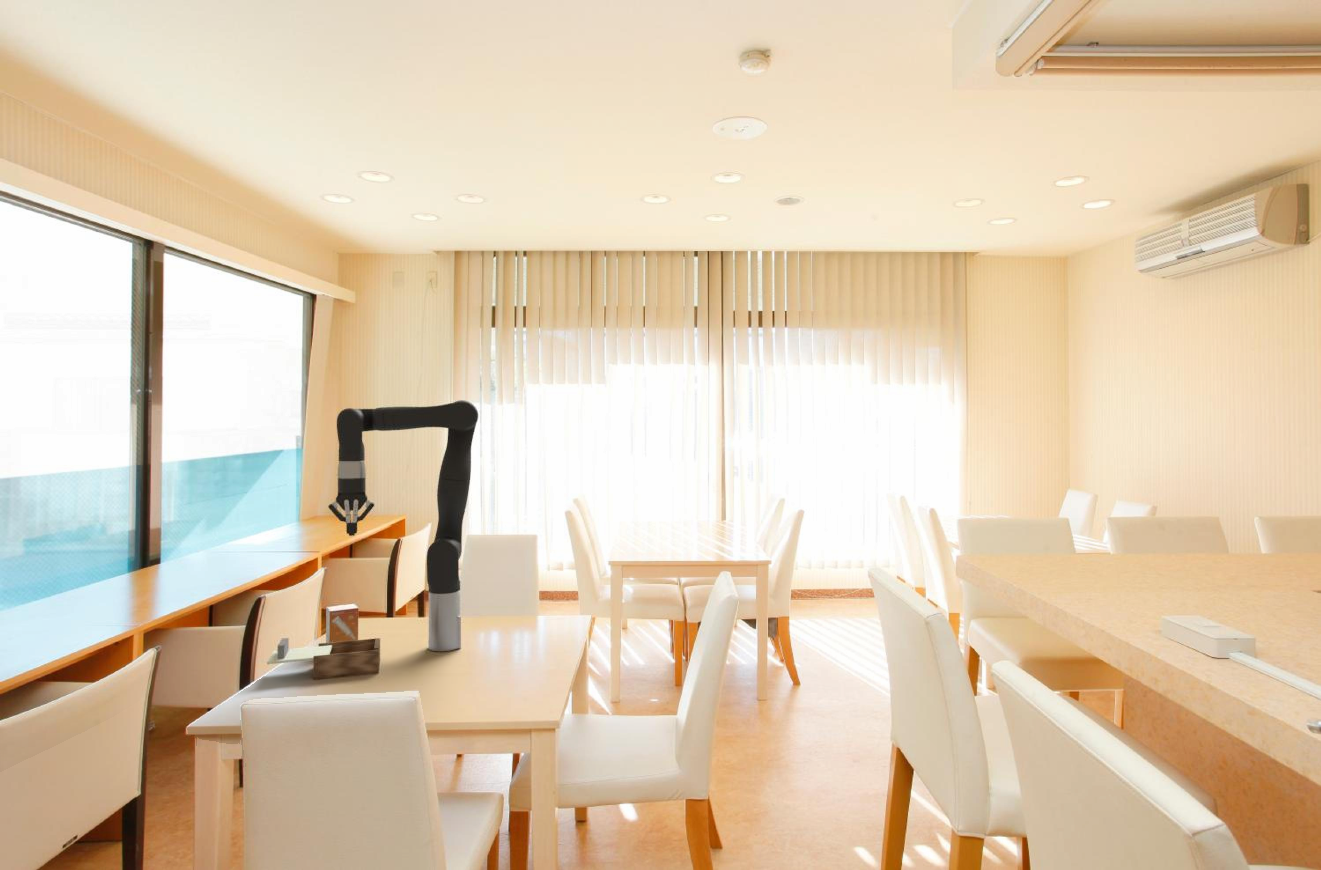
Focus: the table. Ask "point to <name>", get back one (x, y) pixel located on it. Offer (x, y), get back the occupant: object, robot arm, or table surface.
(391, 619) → the table surface
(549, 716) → the table surface
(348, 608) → the small box
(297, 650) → the cover plate
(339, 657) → the walnut box
